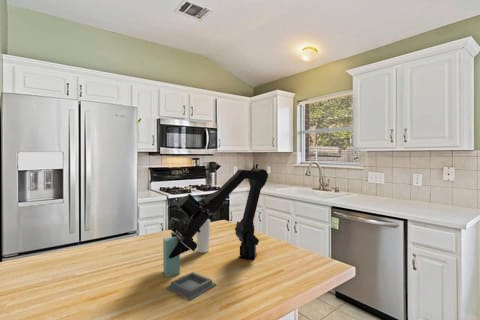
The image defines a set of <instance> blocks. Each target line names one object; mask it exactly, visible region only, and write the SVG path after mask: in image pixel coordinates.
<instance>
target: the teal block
mask: <svg viewBox="0 0 480 320" xmlns="http://www.w3.org/2000/svg"><path fill="white" fill-rule="evenodd" d="M177 239H178V238H177V237H172V236H169V237H163V239H162V240H163V242H162V243H163V249H162V252H163V253H162V254H163V257H162V258H163V263H162V264H163V274H164V275H165V277H166V278H168V277H173V276H177V275H181V274H180V273H181V267H180V264H181V263H180V262H181V261H180V259H181V258H180V256H181V254H180V255H178V256H176V257H174V258H172V259H170V258H169V255H170V254H171V252H172V251H173V249H174V248H175V246H176V245H177ZM178 240H179V239H178Z"/></svg>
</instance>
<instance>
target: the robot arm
mask: <svg viewBox="0 0 480 320" xmlns="http://www.w3.org/2000/svg"><path fill="white" fill-rule="evenodd" d="M268 178H269V173H268V171H267V170H266V169H263V168H253V169H251V170H250V169H249V170H248V169H242V168H241V169H237V170H236V172H235V173H234V174H233V175H232V176H231V177H230V178H229V179H228V180H227V181H226V182H225V183H224V184H223V185H222V186H220V187H219V189H218V190H216V191H214V192H211V193H210V194H209V195H207V196H206V197H204V198H203V199H200V200H196V198H195V197H194V196H193V195H192V194H191V193H187V195H185V196H184V197H182V198H181V199H180V200H179V201H178V203H177V205H176V207H177V208H179V209H180V210H181V211H182V212H183V213H184V214H185V215H186V216H190V218H188V219H184V220H183V219H180V218H175V217H170V219H169V222H168V224H167V226H169V228H170V229H169V231H171V232H170V234H171V236H170V237H177V238H178V239H179V240H178V239H177V245H176V246H175V248H174V249H173V251H172V252H171V254H170V255H169V258H170V259H172V258H174V257H176V256H178V255H180V256H181V255H182V254H184V253H185V252H186V253H187V252H188V251H189V252H190V251H192V252H195V251H196V250H197V242H196V241H194V236H196V233H197V232H200V230H199V229H200V228H201V227H202V226H203V225H204V223H205V222H206V221H207V220H208V219H209V220H210V222H214V214H212V213H217V212H218V211H219V210H220V209H221V207H223V205H224V202H225V201H226V199H227V197H228V196H229V195H231V193H233V191H234V190H236V188H237V187H238V186H240V184H241V183H243V181H244V180H248V182H249V187H250V188H249V191H248V196H247V198H246V199H247V200H246V204H245V208H244V211H243V215H242V219H241V220H240V221H237V222H236V224H235V225H236V226H235V228H234V231H235V235H236V237H237V238H238V241H240V245H239V259H241V260H242V259H244V260H255V259H256V258H257V255H258V253H257V246H258V245H259V242H260V239H259V238H258V237H256V235H255V224H254V219H255V217H256V216H255V215H256V213H257V212H256V211H257V207H258V203H259V200H260V195H261V191H262V189H263V188H264V187H265V185H266V183H267V181H268ZM209 212H210V213H209Z"/></svg>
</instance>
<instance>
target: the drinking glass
mask: <svg viewBox="0 0 480 320" xmlns="http://www.w3.org/2000/svg"><path fill="white" fill-rule="evenodd" d="M199 230H200V232H197V233H196V234H195V237H196V244H197V248H196V250H197V252H198V253H200V254H205V253H208V252H209V250H210V247H209V246H210V235H211V221H210V220H209V219H208V220H207V221H206V222H205V223H204V225H203V226H202V227H201V228H200V229H199Z"/></svg>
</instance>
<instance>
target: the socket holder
mask: <svg viewBox="0 0 480 320" xmlns="http://www.w3.org/2000/svg"><path fill="white" fill-rule="evenodd" d="M215 287H217V283H215V282H213V279H211V278H209V277H206V276H204V275H201V274H199V273H196V272H195V271H192V272H190V273H189V272H188V273H187V274H185V275H183V276H181V277H178V278H177V279H174V280H172V281H170V283H169V285H167V286H166V287H165V289H166V290H168V291H169V292H172V293H174V294H176V295H178V296H180V297H182V298H184V299H186V300H188V301H192V300H193V299H194V300H195V299H196V298H197V297H199V296H201V295H202V294H204V293H207V292H208V291H209V290H211V289H213V288H215Z"/></svg>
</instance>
